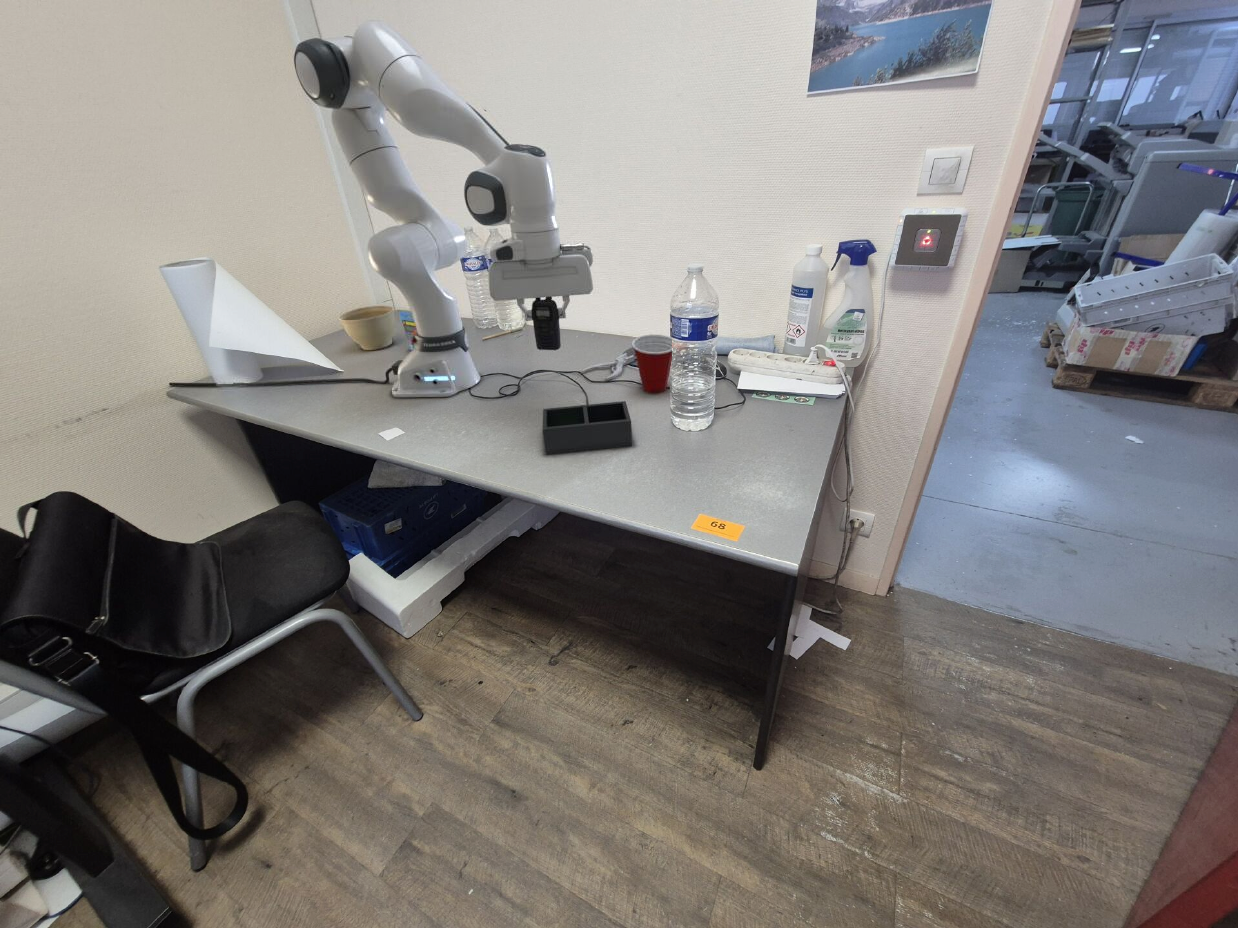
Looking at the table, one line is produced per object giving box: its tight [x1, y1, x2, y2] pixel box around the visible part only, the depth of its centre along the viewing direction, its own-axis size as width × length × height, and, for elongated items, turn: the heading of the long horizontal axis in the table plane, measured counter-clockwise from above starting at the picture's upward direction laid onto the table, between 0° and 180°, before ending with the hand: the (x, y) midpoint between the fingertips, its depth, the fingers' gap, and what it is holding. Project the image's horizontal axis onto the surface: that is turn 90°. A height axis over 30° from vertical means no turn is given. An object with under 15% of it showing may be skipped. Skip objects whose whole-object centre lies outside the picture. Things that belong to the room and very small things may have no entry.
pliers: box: [580, 352, 636, 382], centre depth 137 cm, size 10×2×15 cm
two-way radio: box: [531, 297, 562, 351], centre depth 101 cm, size 6×4×15 cm
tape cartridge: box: [398, 310, 417, 351], centre depth 154 cm, size 9×4×12 cm, turn 58°
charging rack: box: [541, 400, 633, 456], centre depth 103 cm, size 9×17×6 cm, turn 96°
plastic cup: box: [631, 333, 673, 394], centre depth 121 cm, size 11×11×12 cm
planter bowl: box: [338, 305, 396, 351], centre depth 161 cm, size 16×16×11 cm
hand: (545, 319), depth 102 cm, fingers closed on two-way radio, 5 cm apart
